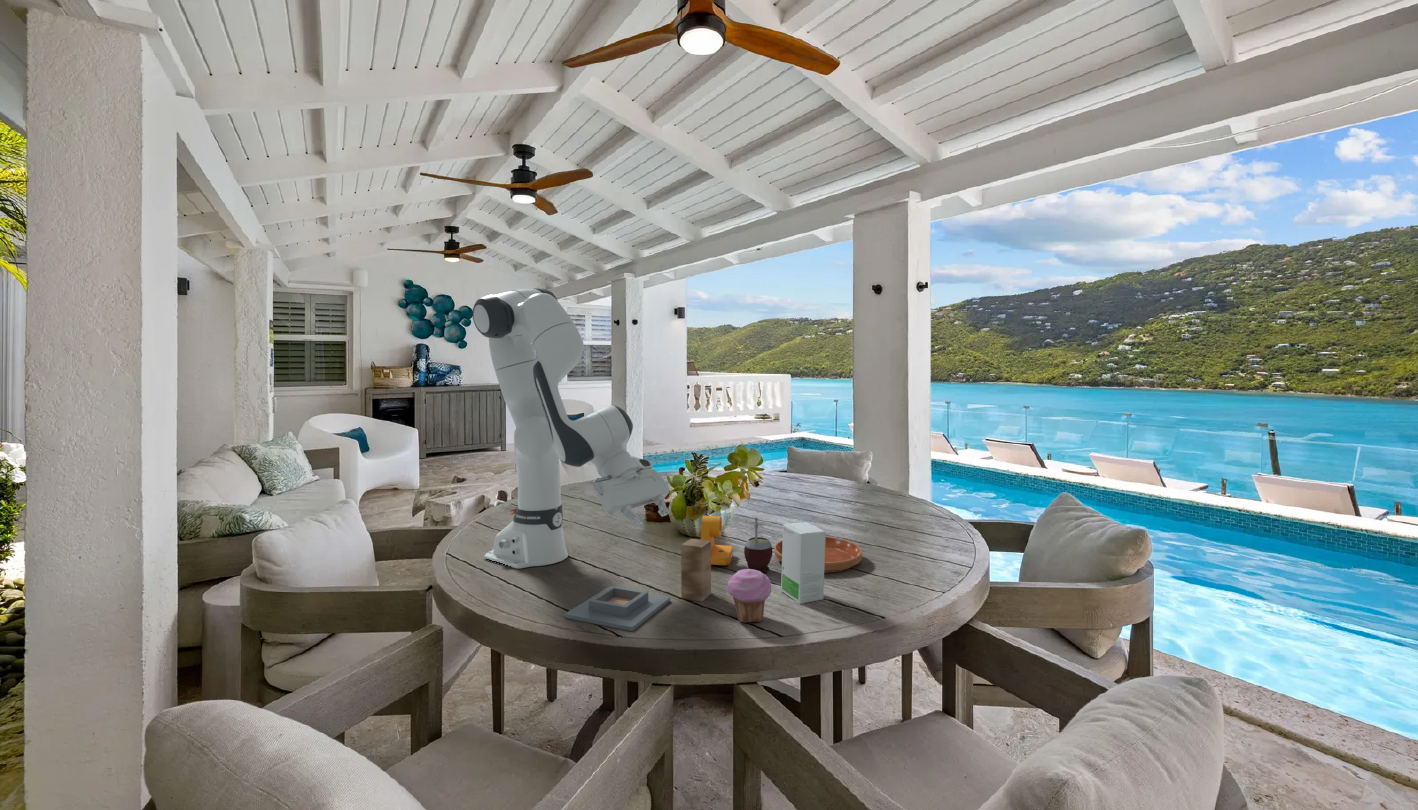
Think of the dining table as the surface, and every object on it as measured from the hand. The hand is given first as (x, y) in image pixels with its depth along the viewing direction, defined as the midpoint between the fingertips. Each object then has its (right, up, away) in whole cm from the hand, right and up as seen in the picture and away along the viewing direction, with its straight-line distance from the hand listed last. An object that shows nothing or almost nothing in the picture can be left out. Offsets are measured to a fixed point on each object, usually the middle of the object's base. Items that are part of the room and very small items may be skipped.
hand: (653, 518), depth 133 cm
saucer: (+42, -15, +19) cm, 48 cm away
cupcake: (+21, -17, -17) cm, 32 cm away
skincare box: (+34, -16, -5) cm, 38 cm away
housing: (-6, -17, -12) cm, 21 cm away
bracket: (+15, -15, +19) cm, 29 cm away
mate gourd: (+25, -16, +10) cm, 32 cm away
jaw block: (+10, -16, -5) cm, 20 cm away
